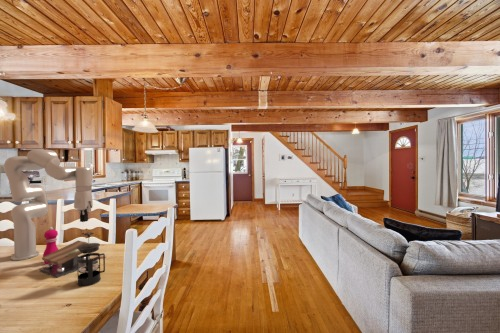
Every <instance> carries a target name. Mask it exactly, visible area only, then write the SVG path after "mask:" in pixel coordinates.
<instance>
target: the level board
mask: <svg viewBox="0 0 500 333" xmlns="http://www.w3.org/2000/svg"><path fill="white" fill-rule="evenodd" d="M84 244H88V241H87V242H86V241H82V240H76V241H74V242H72V243H70V244H68V245H65V246H63V247H62V248H58V250H57V251H55V252H53V253H51V254H48V255H46V256H44V257H43V256H42V257H41V259H42V261H43V262H44V261H47V262H50V263H53V265H54V264H56V265H61V264H63V263H65V262H66V261H68V260H70V259H72V258H74V257H76V256H78V257H79V256H81V255H83V253H81V252H80V251H79V250H78V249H77V247H79V246H81V245H84Z"/></svg>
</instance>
